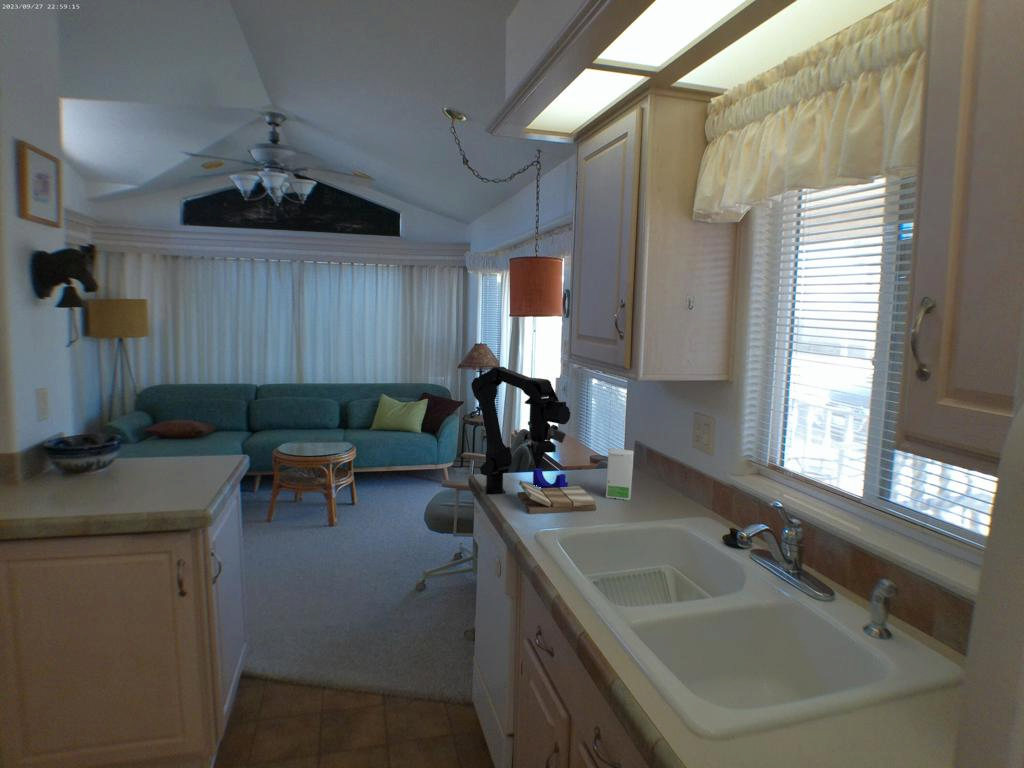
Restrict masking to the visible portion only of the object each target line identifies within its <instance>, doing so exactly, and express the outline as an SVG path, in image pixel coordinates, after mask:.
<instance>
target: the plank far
mask: <svg viewBox="0 0 1024 768" xmlns="http://www.w3.org/2000/svg"><path fill="white" fill-rule="evenodd" d="M559 489H560V490H561V492H562V493H563V494H564V495H565V496H566V497H567V498H568V499H569V500H570V501H571V502H572V505H573V506H580V505H596V500H595V499H594V498H593V497H592V496H591V495H590V494H589V493H588V492H586V491H585V490H584V489H583V488H582V487H581V486H580V485H579V486H578V485H577V486H576V485H575V486H568V487H560V488H559Z"/></svg>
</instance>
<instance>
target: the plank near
mask: <svg viewBox="0 0 1024 768" xmlns="http://www.w3.org/2000/svg"><path fill="white" fill-rule="evenodd" d="M518 485H519V486H520V487H521V489H522V490H523V492H525V493H526V494H527V495H528V497H529V498H530V499H533V500H535V501H537V502H540V503H542V504H544V505H547V506H549V507H550V505H551V502H550V501H549V500H548V499H547V497H546V496H545V495H544V494H543V493H542V491H541V490H540V488H539V487H536V486H533V484H530V483H528V482H525V481H522V480H519V482H518Z"/></svg>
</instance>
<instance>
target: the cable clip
mask: <svg viewBox="0 0 1024 768" xmlns="http://www.w3.org/2000/svg"><path fill="white" fill-rule="evenodd" d="M543 473H544V472H543V469H542V468H540V467H539V468H538V469H536V468H535V469H533V470H532V486H533V485H535V486H534V487H536V485H537V486H538V487H537V488H539V487H541V488H560V487H569V482H567V481H566V473H565V474H563V473H560V474H556V477H555V479H554V480H555V481H554V482H553V483H551V482H548V480H547V479H546V478H545V477H544V474H543Z"/></svg>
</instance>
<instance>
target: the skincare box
mask: <svg viewBox="0 0 1024 768" xmlns="http://www.w3.org/2000/svg"><path fill="white" fill-rule="evenodd" d="M633 465H634V450H629V449H622V448H612V447H611V448H608V452H607V465H606V466H607V467H606V469H607V470H606V481H605V482H606V485H605V498H607V499H614V498H616V499H615V500H623V499H624V501H625V500H626V501H630V500H631V497H632V480H633V479H632V478H633V469H634V468H633Z"/></svg>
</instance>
